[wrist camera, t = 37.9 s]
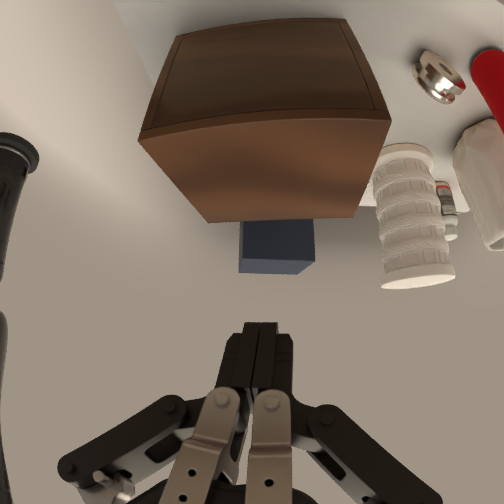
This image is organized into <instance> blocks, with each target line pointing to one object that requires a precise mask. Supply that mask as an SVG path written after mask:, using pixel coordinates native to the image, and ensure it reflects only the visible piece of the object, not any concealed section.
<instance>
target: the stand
mask: <svg viewBox="0 0 504 504" xmlns="http://www.w3.org/2000/svg"><path fill="white" fill-rule="evenodd" d="M313 262H315V244H314V226H313V219H285V220H260V221H240V238H239V273H260V274H261V273H263V274H299V273H300V272H301V271H303V270H304V269H305V268H307V267H308V266H309V265H311V264H312V263H313Z"/></svg>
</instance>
